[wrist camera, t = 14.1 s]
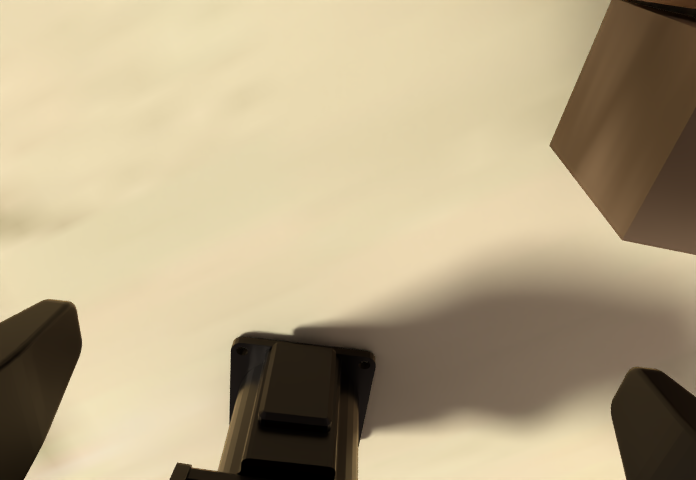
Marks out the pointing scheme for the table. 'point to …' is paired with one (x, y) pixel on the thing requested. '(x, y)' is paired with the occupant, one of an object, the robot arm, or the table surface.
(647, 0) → the plank
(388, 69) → the table surface
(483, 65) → the table surface
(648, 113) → the mallet
